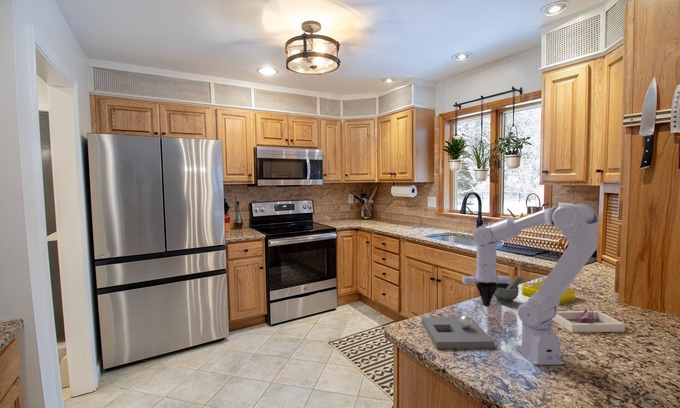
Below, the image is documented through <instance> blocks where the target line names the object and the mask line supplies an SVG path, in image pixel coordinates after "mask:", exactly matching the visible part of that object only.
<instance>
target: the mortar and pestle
mask: <svg viewBox="0 0 680 408" xmlns="http://www.w3.org/2000/svg"><path fill="white" fill-rule="evenodd" d="M514 277H515V278H514V279H513V280H512V281H510V284H507V283H496V285H497V286H498V288H497V290H496V291H495V293H494V295H493V296H494V297H495V298H496V303H497V304H499V305H503V306H512V305H514V301H515V300H516V299H517V298H518V296H519V292H520V288H519V286H520V284H521V282H522V281H523V280H524V279H523V278H522V276H520V275H515V276H514Z"/></svg>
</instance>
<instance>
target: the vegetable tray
mask: <svg viewBox="0 0 680 408" xmlns="http://www.w3.org/2000/svg"><path fill="white" fill-rule="evenodd" d="M584 311H585V310H581V311H580V310H576V311H575V310H573V311H572V310H566V311H565V310H562V311H559V310H557V314H556V316H555V317H554V318H552V322H553V321H554V322H555V323H556V324H558V325H560V326H561V327H563V328H564V329H566V330H568V331H569V332H570V333H612V332H614V333H619V332H622V333H624V332H626V324H625V323H623V322H621V321H619V320H618V319H615V318H613V317H611V316H609V315H607V314H605V313H604V312H601V311H600V310H593V314H594V316H593V317H594V318H595V319H594V320H598V321H600V322H595V323H590V322H589V323H580V322H576V323H574V322H572V321H570V320H579V319H580V318H581V317H582V316H583V313H584ZM587 312H590V310H587ZM591 315H592V310H591ZM589 316H590V315H589ZM591 319H592V318H590V319H589V320H591Z"/></svg>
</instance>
